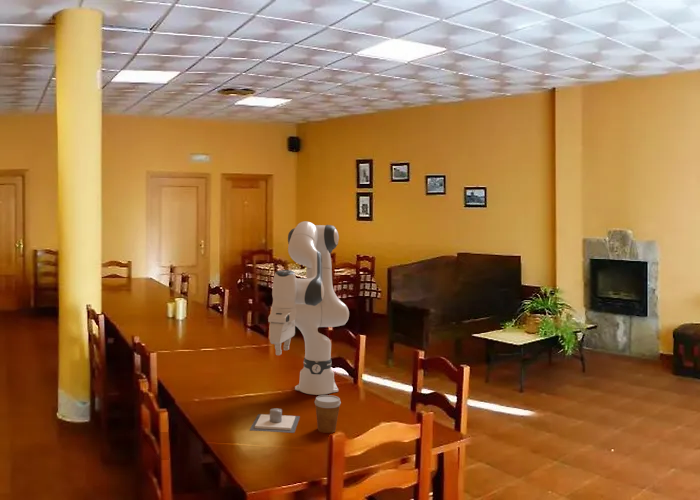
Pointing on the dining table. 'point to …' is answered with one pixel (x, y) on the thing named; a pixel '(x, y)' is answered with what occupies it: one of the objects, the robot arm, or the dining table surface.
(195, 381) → the dining table surface
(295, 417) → the mat
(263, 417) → the lid
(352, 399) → the dining table surface
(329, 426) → the disposable coffee cup
